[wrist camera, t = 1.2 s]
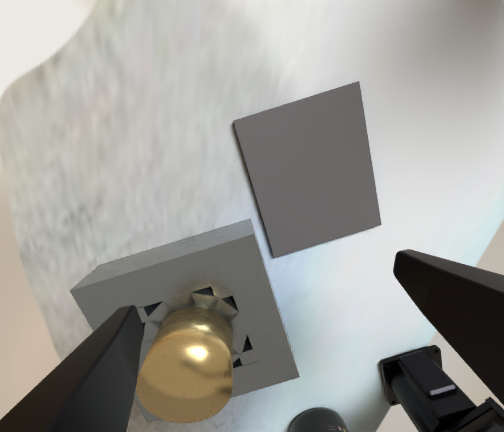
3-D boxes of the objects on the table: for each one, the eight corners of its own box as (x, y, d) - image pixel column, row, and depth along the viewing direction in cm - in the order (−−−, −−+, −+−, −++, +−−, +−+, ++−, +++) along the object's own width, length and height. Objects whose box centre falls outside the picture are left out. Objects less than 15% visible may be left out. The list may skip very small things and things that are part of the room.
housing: (289, 342, 25) (299, 377, 21) (161, 380, 25) (147, 422, 21) (250, 218, 21) (254, 233, 17) (99, 265, 21) (69, 290, 17)
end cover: (241, 325, 23) (244, 407, 16) (182, 343, 23) (158, 433, 16) (221, 273, 22) (214, 337, 14) (158, 292, 22) (119, 365, 14)
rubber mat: (377, 222, 22) (381, 224, 21) (273, 254, 22) (274, 257, 22) (355, 83, 19) (359, 81, 18) (233, 121, 19) (233, 120, 18)
